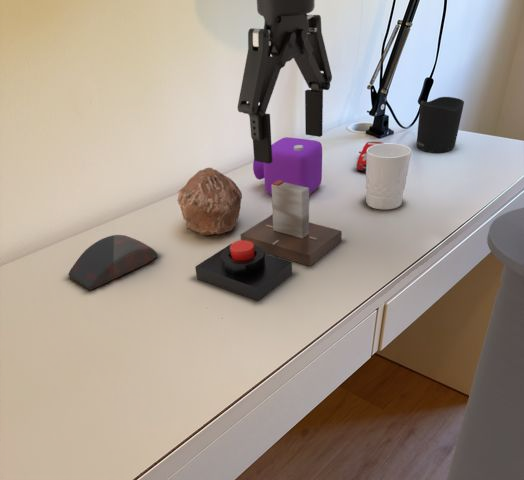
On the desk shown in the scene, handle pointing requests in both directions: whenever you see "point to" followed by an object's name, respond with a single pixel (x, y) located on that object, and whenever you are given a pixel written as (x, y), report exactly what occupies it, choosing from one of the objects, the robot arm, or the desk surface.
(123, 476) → the desk surface
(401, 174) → the white cup
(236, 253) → the button
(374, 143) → the race car
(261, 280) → the button block
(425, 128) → the pen holder
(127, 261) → the dark grey rounded block
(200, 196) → the decorative rock
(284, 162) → the toy camera
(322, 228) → the panel
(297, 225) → the tap handle
